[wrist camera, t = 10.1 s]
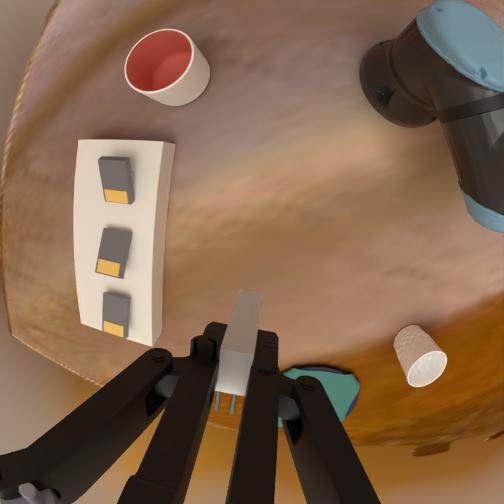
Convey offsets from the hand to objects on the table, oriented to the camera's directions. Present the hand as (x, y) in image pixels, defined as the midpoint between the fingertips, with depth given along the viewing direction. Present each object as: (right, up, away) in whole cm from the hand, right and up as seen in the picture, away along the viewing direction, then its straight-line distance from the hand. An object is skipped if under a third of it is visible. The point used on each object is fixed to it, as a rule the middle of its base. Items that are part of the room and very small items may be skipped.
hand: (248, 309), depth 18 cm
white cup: (+30, -13, +29) cm, 44 cm away
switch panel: (-22, +6, +28) cm, 36 cm away
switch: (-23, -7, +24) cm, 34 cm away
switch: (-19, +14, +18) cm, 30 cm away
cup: (-11, +31, +20) cm, 39 cm away
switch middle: (-21, +4, +21) cm, 30 cm away
